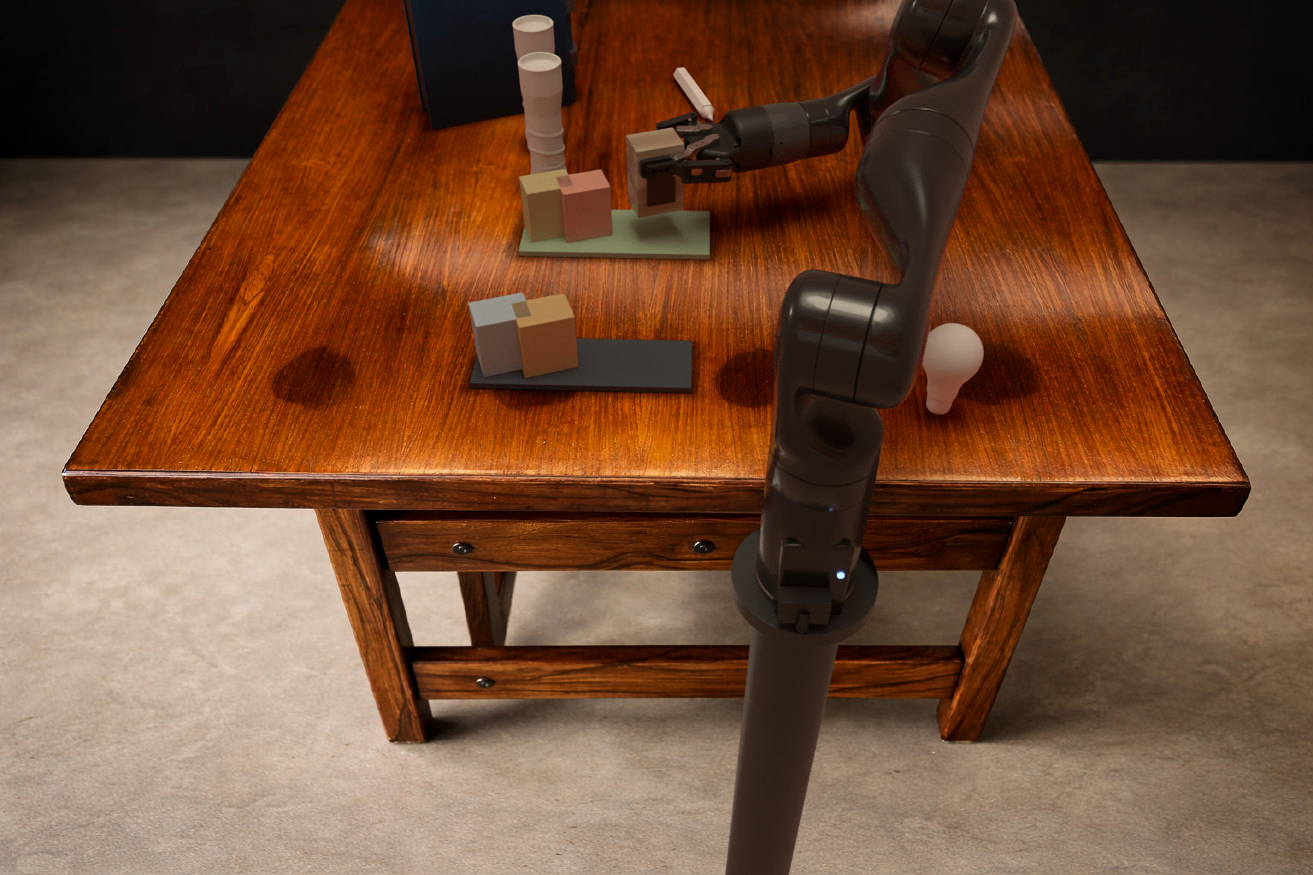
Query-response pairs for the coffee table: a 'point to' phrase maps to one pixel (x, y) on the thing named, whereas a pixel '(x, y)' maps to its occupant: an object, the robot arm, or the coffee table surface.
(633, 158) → the tall taupe block
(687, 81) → the marker
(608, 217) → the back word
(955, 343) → the lightbulb
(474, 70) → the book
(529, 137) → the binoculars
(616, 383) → the blocks on base plate
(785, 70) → the coffee table surface
